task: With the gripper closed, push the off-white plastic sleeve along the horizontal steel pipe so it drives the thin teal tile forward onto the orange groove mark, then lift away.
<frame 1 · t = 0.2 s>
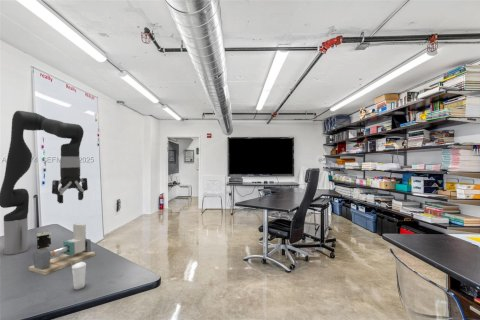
hand: (70, 201, 109), 29 cm above the table, tool pointing down, fingers open, 8 cm apart
pipe stand: (64, 262, 111), on the table
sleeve: (76, 238, 116), point 10 cm above the table, slide at -5.5 cm
pneumatic valve: (44, 255, 121), on the table
milkshake: (78, 287, 88), on the table
thin teal tile: (68, 248, 113), point 6 cm above the table, slide at -2.0 cm
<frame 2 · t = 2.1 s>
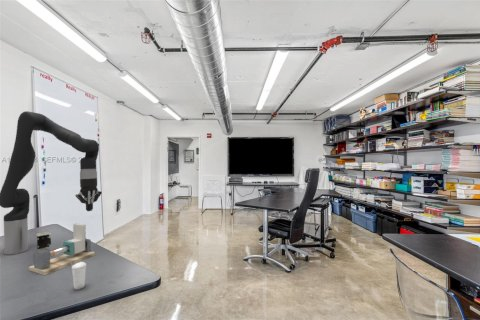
hand: (89, 210, 122), 22 cm above the table, tool pointing down, fingers closed
nothing on the table moved.
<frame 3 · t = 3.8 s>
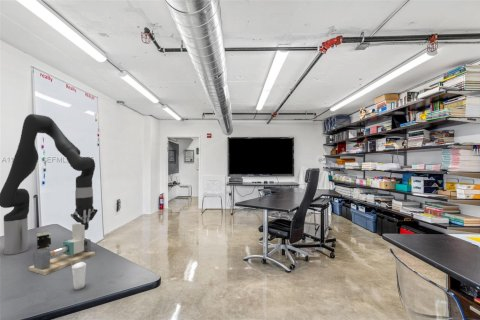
hand: (85, 229, 120), 12 cm above the table, tool pointing down, fingers closed
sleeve: (74, 238, 115), point 10 cm above the table, slide at -5.0 cm, touching gripper, thin teal tile
thin teal tile: (68, 248, 113), point 6 cm above the table, slide at -1.9 cm, touching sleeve
everything else where it was.
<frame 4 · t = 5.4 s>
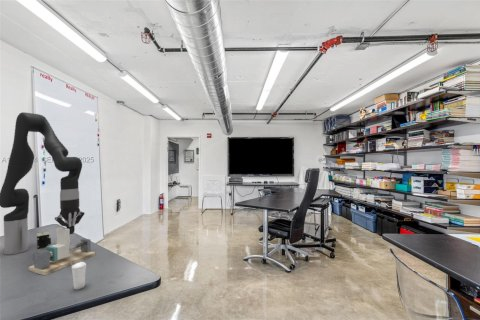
hand: (70, 233, 114), 12 cm above the table, tool pointing down, fingers closed
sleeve: (59, 243, 109), point 10 cm above the table, slide at 2.0 cm, touching gripper, thin teal tile
thin teal tile: (51, 253, 106), point 6 cm above the table, slide at 5.1 cm, touching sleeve
everything else where it was.
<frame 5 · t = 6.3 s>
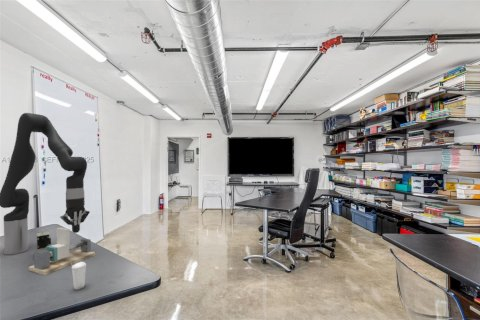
hand: (75, 232, 116), 13 cm above the table, tool pointing down, fingers closed
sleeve: (59, 243, 109), point 10 cm above the table, slide at 2.0 cm, touching thin teal tile
everything else where it was.
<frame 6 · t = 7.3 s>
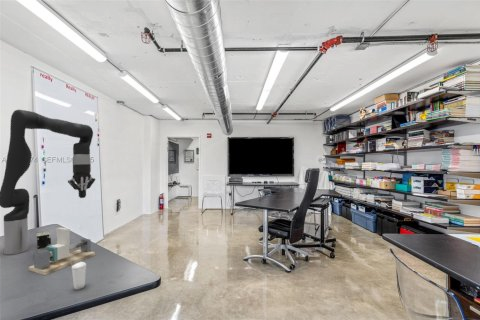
hand: (82, 197, 119), 29 cm above the table, tool pointing down, fingers closed
nothing on the table moved.
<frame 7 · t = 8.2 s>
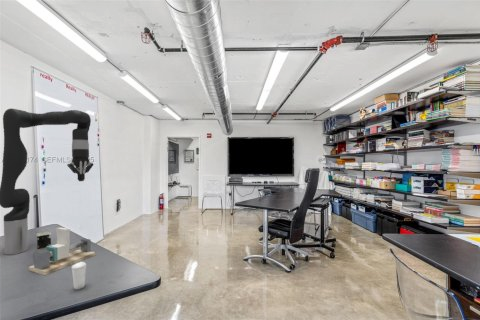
hand: (81, 181, 125), 37 cm above the table, tool pointing down, fingers closed
nothing on the table moved.
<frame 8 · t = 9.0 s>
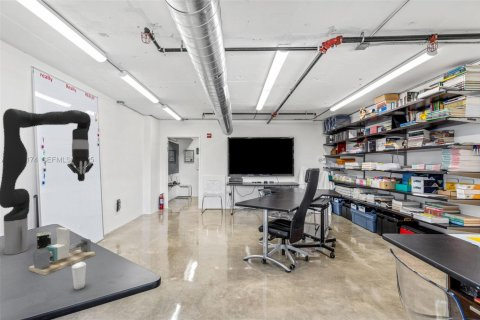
hand: (81, 181, 126), 37 cm above the table, tool pointing down, fingers closed
nothing on the table moved.
at the end: thin teal tile slide at 5.1 cm; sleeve slide at 2.0 cm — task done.
